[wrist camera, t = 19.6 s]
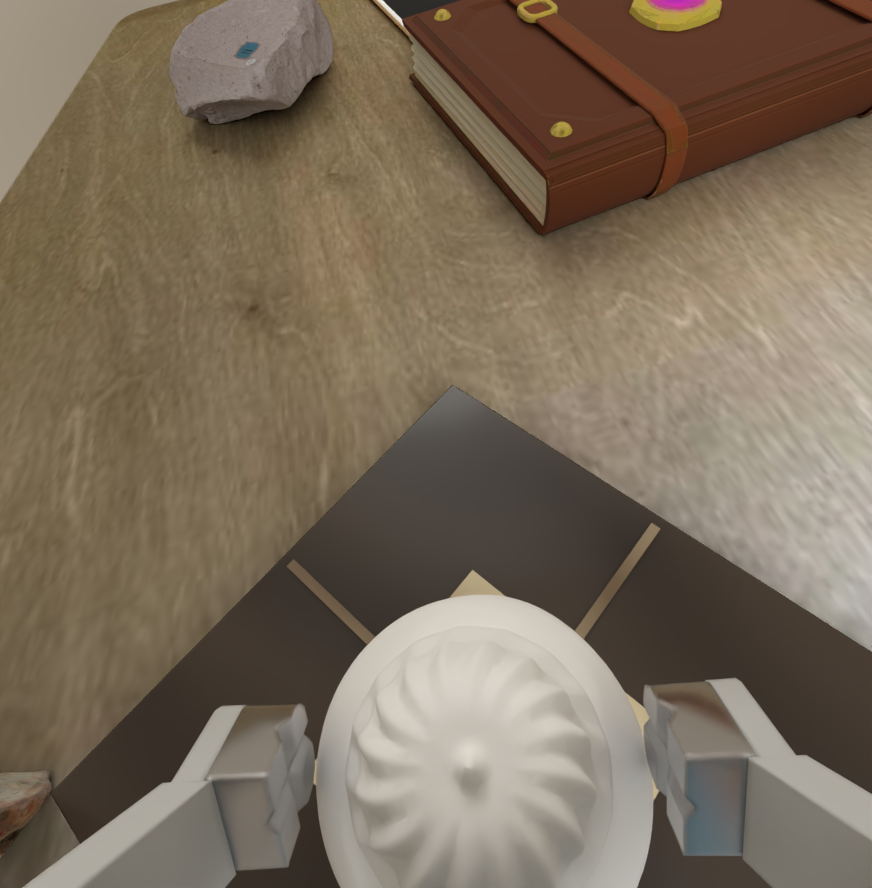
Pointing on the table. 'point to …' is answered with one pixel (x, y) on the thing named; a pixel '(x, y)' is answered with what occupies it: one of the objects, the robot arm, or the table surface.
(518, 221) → the table surface
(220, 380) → the table surface
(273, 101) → the decorative stone
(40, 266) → the table surface
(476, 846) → the muffin
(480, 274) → the table surface
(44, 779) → the rock
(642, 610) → the board
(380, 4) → the cell phone
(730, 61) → the book
